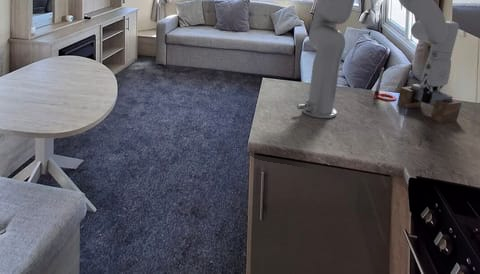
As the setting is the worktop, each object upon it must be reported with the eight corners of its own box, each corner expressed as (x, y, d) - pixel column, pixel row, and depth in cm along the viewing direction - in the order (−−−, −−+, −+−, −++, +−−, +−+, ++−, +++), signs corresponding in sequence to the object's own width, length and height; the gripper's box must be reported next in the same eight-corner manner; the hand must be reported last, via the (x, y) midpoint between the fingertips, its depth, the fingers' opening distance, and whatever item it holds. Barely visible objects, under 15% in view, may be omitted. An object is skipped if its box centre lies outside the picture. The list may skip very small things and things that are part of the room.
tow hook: (396, 98, 173) (375, 93, 176) (404, 69, 167) (382, 65, 171) (394, 103, 166) (372, 98, 169) (402, 74, 160) (379, 69, 164)
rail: (449, 108, 148) (452, 96, 145) (443, 109, 146) (447, 97, 144) (414, 95, 161) (417, 84, 159) (409, 96, 160) (411, 84, 158)
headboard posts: (456, 121, 148) (462, 102, 145) (441, 123, 145) (447, 104, 142) (410, 102, 166) (415, 85, 163) (397, 104, 163) (400, 87, 160)
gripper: (433, 59, 140) (421, 107, 147) (463, 56, 146) (450, 103, 154) (416, 54, 146) (405, 101, 153) (446, 52, 153) (434, 97, 160)
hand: (428, 101), depth 154 cm, fingers closed on rail, 3 cm apart
